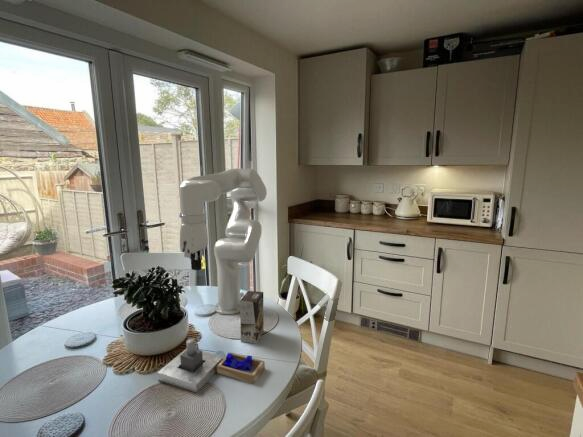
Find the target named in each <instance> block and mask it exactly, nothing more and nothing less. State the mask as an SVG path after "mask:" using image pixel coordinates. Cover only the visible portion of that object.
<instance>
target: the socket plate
mask: <svg viewBox="0 0 583 437" xmlns="http://www.w3.org/2000/svg"><path fill="white" fill-rule="evenodd" d="M186 350H187V347H186V348H185V349H184V350H183V351H182V352H180V353H178V355H177V356H175V357H174V358H173V359H172V360H171V361H170V362H168V363H167V364H166V365H165V366H164V367H162V368H161V369H160V370H158V371H157V381H159V382H160V381H161V382H163V383H166V384H170V385H171V386H175V387H178V388H182V389H186V390H187V391H188V390H189V391H190V392H194V393H198V392H199V390H200V389H201V388H203V386H204V385H205V384H206V383H207V382H208V381H209V380H210V379H211V378H212V377H213V376H214V374H216V373H217V365H218V364H219V363H220V362H221V361H222V360H223V359H224V358H225V357H224V356H223V355H219V354H215V353H211V352H208V351H205V350H202V358H203V364H202V365H201V366H200V367H199V368H198V369H197V370H196V371H195V372H194V373H193V372H189V371H186V370H183V369H181V359H180V355H181V354H183V353H184V352H185V351H186Z"/></svg>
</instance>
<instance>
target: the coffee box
mask: <svg viewBox="0 0 583 437" xmlns="http://www.w3.org/2000/svg"><path fill="white" fill-rule="evenodd" d="M239 315H240V319H239V320H240V342H245V343H250V344H251V343H252V344H257V343H258V342H259V339H260V338H261V336H262V334H263V333H264V331H265V330H264V319H265V318H264V292H263V291H251V290H247V292H246V293H244V296H243V297H241V299H240V312H239Z"/></svg>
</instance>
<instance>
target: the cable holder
mask: <svg viewBox="0 0 583 437" xmlns="http://www.w3.org/2000/svg"><path fill="white" fill-rule="evenodd" d="M225 357H226V362H225V364H224V366H226V367H229V368H233V369H237V370H240V371H248V372H251V370H252V368H253V367H252V358H253V356H252V355H247V356H246V357H247V358H246V360H245V361H243V362H239V361H237V360H235V358H234V357H233V354H230V352H228V353H227V355H226V356H225Z"/></svg>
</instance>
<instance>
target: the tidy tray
mask: <svg viewBox="0 0 583 437" xmlns="http://www.w3.org/2000/svg"><path fill="white" fill-rule="evenodd" d="M229 353H230V354H233V357H234V358H235V360H237V361H239V362H243V361H245V360H246V358H247V356H246V355H241V354H239V353H234V352H229ZM225 362H226V356H225V357H224V359H223V360H222V361H221V362H220V363H219V364H218V365H217V371H216V373H217V374H219V375H222V376H225V377H230V378H233V379H236V380H238V381H239V380H240V381H243V382H247V383H250V384H255V382H256V381H257V380H258V378H259V377H260V375H261V374H262V373H263V372H264V370H265V365H266V364H265V360H261V359H258V358H253V357H252V368H255V370H254V371H253V372H252V373H250V372H246V371H245V370H239V369H238V370H237V369H233V368H229V367H226V366H224V364H225Z"/></svg>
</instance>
